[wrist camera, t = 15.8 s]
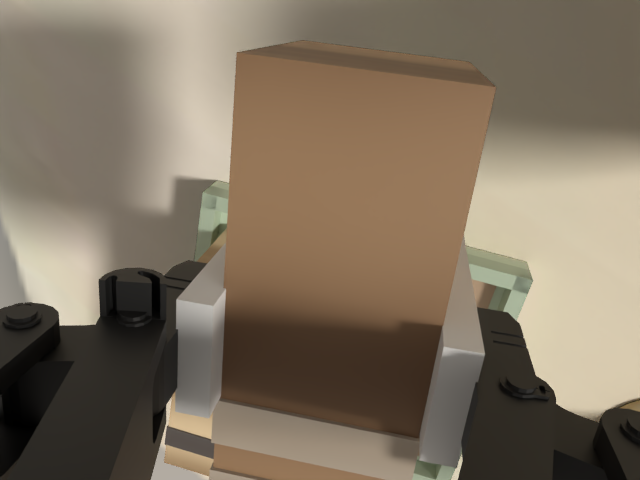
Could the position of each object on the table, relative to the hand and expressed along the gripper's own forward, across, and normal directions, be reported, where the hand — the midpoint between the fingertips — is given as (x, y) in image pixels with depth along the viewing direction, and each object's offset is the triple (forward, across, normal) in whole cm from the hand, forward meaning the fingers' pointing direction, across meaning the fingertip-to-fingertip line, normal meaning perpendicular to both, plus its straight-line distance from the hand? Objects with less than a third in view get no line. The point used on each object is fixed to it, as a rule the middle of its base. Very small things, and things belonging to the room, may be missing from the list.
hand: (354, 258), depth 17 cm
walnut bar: (0, 0, 0) cm, 0 cm away
